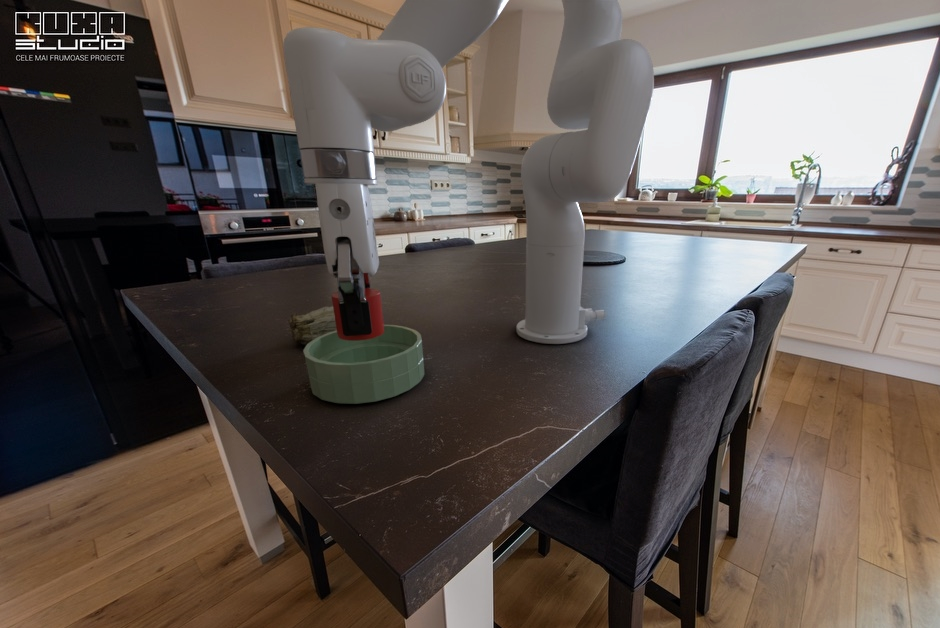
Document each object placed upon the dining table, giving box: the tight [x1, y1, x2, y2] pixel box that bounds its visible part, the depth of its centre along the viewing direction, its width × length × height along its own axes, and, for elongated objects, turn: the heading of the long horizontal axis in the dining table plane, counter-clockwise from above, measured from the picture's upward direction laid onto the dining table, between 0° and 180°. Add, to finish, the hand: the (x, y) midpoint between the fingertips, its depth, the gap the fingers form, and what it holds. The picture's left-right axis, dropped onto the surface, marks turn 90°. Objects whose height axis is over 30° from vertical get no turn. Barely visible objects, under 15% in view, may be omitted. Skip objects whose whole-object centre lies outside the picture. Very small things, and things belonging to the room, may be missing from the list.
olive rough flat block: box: [288, 305, 337, 346], centre depth 67 cm, size 14×10×5 cm, turn 129°
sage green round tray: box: [302, 324, 426, 405], centre depth 52 cm, size 14×14×6 cm
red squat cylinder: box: [331, 284, 385, 341], centre depth 49 cm, size 6×6×6 cm
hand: (360, 324), depth 50 cm, fingers closed on red squat cylinder, 5 cm apart
